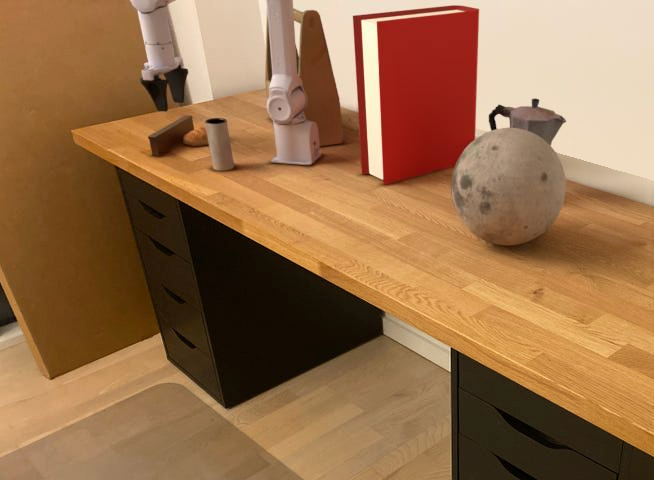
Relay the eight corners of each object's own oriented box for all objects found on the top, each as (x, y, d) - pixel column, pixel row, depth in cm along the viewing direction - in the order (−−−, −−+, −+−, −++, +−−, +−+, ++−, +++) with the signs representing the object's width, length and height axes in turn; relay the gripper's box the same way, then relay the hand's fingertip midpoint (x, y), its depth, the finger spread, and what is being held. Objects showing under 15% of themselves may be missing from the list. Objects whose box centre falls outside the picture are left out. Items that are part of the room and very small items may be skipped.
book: (383, 184, 154) (376, 21, 136) (361, 174, 159) (352, 15, 141) (477, 159, 169) (482, 9, 151) (455, 151, 174) (457, 4, 156)
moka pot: (556, 209, 144) (566, 107, 133) (480, 202, 147) (484, 101, 136) (560, 192, 152) (570, 94, 141) (488, 186, 155) (492, 89, 144)
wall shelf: (195, 133, 181) (192, 115, 178) (159, 156, 166) (155, 137, 163) (188, 133, 181) (185, 115, 179) (152, 156, 166) (147, 136, 164)
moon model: (572, 229, 136) (584, 122, 125) (541, 273, 121) (552, 155, 110) (474, 212, 142) (477, 108, 131) (432, 252, 127) (432, 138, 116)
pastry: (193, 149, 170) (190, 133, 168) (178, 143, 174) (174, 127, 172) (227, 141, 176) (225, 125, 174) (212, 135, 180) (209, 120, 178)
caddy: (268, 118, 194) (253, -6, 177) (307, 114, 198) (295, -8, 181) (302, 149, 172) (287, 11, 156) (344, 143, 177) (334, 9, 160)
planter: (211, 165, 161) (203, 119, 156) (232, 163, 163) (224, 116, 157) (214, 172, 158) (206, 124, 152) (235, 169, 160) (228, 122, 154)
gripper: (157, 35, 163) (170, 97, 171) (122, 47, 151) (137, 113, 159) (187, 37, 162) (198, 99, 170) (154, 49, 150) (167, 115, 158)
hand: (171, 106), depth 164 cm, fingers open, 7 cm apart
